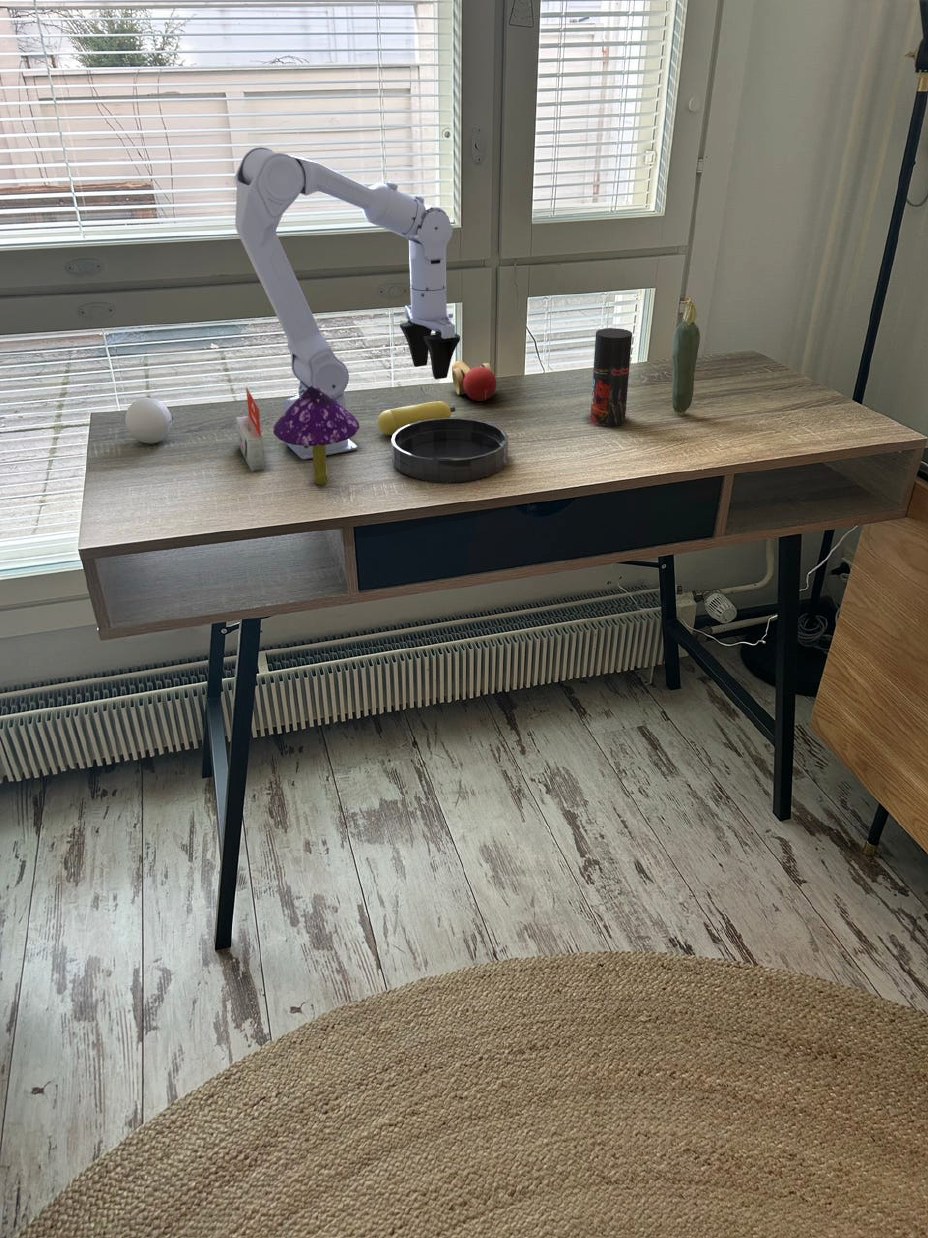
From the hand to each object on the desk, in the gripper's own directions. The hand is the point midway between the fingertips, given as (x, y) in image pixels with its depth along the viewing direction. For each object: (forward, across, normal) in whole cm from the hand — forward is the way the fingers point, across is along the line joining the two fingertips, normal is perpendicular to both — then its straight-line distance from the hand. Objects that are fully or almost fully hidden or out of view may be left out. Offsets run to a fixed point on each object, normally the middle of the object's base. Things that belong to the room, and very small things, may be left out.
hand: (430, 371), depth 158 cm
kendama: (+10, +14, -15) cm, 23 cm away
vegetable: (+10, -16, -40) cm, 44 cm away
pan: (+10, -15, +4) cm, 18 cm away
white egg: (+10, +17, +43) cm, 47 cm away
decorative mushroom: (+10, -14, +25) cm, 30 cm away
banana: (+10, 0, +3) cm, 10 cm away
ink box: (+10, +1, +31) cm, 33 cm away
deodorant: (+10, -12, -28) cm, 32 cm away
